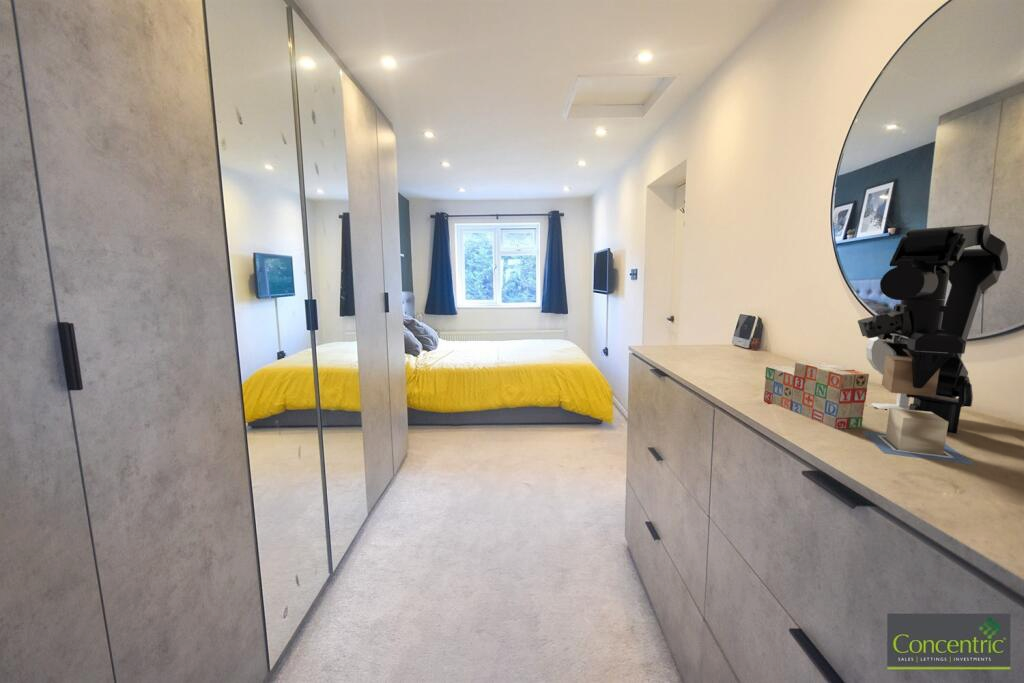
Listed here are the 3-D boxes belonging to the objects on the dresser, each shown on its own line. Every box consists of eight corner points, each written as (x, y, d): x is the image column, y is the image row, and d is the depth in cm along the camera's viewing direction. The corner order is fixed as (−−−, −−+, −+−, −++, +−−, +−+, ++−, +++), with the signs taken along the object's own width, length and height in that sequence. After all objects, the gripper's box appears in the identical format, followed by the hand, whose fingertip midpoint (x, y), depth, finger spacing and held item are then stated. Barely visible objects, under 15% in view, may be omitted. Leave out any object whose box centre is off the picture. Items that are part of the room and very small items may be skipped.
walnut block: (922, 388, 79) (927, 357, 78) (935, 396, 74) (940, 363, 73) (881, 384, 82) (885, 354, 81) (890, 392, 77) (895, 360, 76)
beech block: (926, 442, 78) (931, 411, 77) (943, 455, 73) (948, 422, 72) (885, 437, 81) (889, 407, 80) (898, 449, 75) (903, 417, 74)
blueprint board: (938, 442, 80) (939, 439, 80) (976, 468, 69) (977, 464, 69) (860, 433, 85) (860, 430, 84) (883, 456, 74) (884, 452, 74)
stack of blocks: (762, 401, 107) (766, 354, 105) (784, 401, 107) (789, 354, 106) (834, 432, 86) (841, 373, 84) (862, 431, 86) (870, 372, 85)
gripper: (851, 296, 87) (842, 370, 89) (884, 300, 70) (871, 390, 73) (922, 298, 82) (910, 375, 85) (974, 302, 66) (958, 398, 68)
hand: (910, 383), depth 78 cm, fingers closed on walnut block, 6 cm apart
